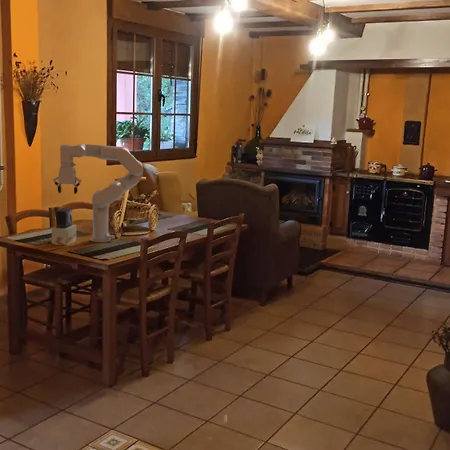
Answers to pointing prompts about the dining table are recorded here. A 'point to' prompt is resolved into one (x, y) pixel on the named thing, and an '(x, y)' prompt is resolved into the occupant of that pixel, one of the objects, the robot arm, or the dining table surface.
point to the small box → (63, 218)
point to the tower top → (64, 231)
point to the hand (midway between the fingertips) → (67, 193)
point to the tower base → (63, 240)
